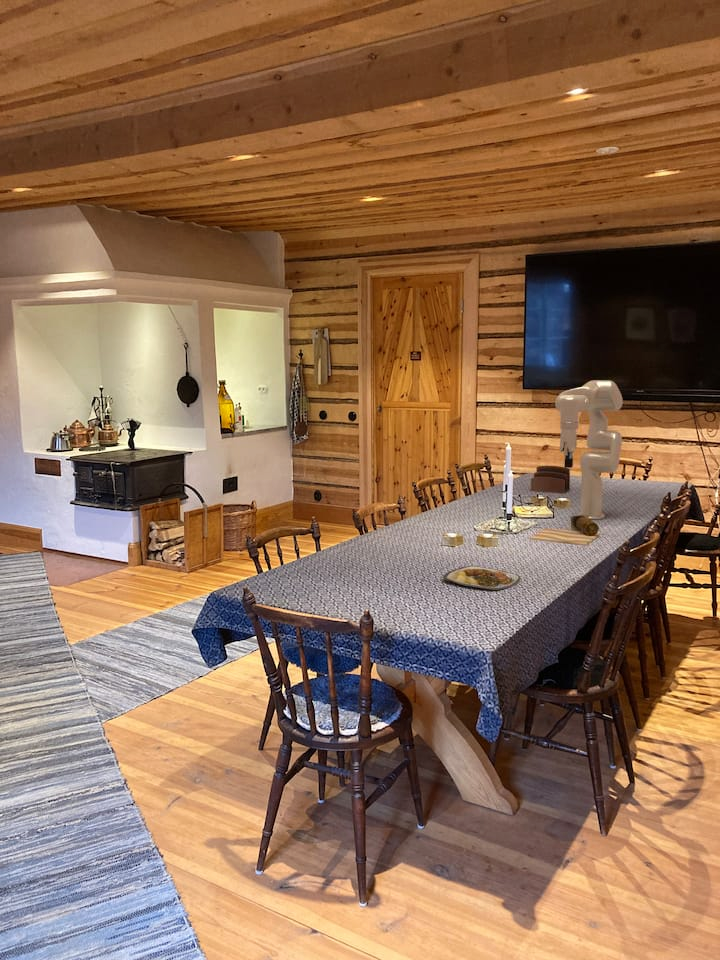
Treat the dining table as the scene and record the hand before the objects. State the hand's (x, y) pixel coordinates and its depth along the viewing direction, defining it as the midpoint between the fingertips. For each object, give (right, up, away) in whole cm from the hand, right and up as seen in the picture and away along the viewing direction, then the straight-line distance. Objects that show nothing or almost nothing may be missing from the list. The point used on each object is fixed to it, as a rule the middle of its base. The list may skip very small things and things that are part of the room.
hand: (568, 467), depth 338 cm
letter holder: (+18, -12, +105) cm, 107 cm away
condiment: (+5, -25, +3) cm, 26 cm away
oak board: (-3, -30, -7) cm, 31 cm away
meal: (-48, -41, -65) cm, 91 cm away
